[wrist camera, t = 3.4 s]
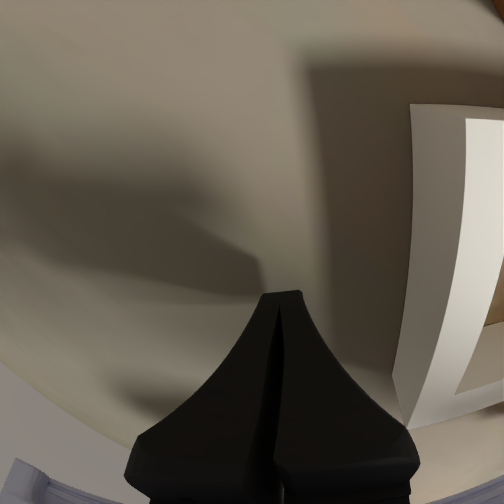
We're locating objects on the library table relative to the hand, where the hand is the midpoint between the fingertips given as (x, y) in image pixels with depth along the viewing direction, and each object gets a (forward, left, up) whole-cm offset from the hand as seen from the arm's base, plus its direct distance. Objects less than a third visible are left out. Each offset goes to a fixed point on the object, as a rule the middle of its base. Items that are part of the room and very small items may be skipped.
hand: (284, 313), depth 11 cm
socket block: (0, -10, -1) cm, 11 cm away
